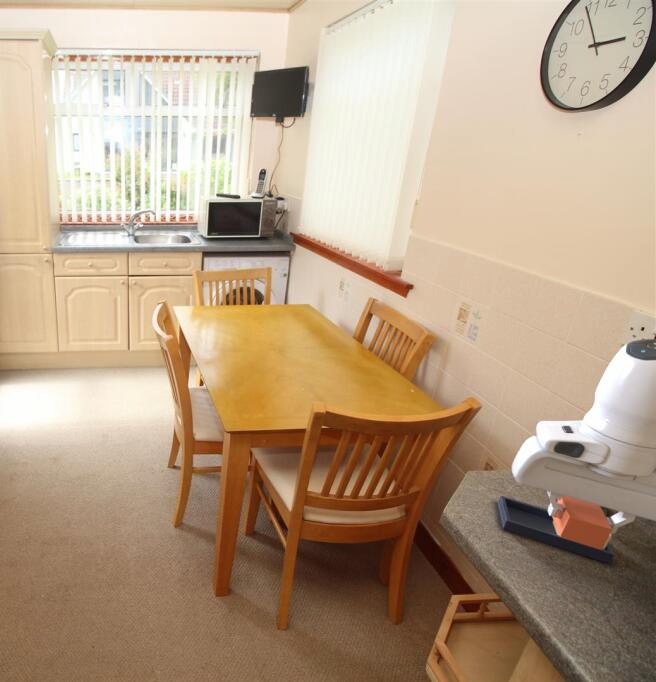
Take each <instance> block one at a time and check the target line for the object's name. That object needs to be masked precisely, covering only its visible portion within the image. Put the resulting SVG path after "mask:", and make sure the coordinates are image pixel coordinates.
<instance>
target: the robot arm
mask: <svg viewBox="0 0 656 682" xmlns="http://www.w3.org/2000/svg"><path fill="white" fill-rule="evenodd" d="M535 432H536V433H535V434H536V435H532V436H530V437H528V438H527V439H526V440H525V441H524V442H523V444H522V445H521V446H520V448H519V449H518V452H517V453H516V455H515V457H514V459H513V462H512V463H511V472H512V476H513V478H514V479H515V481H516V482H517V483H518V484H519V485H523V486H526V487H530V488H534V489H536V490H537V489H538V490H541V491H545V492H546V493H547V496H548V498H549V501H550V503H549V505H548V507H547V510H548V513H549V516H553V517H556V518H559V519H561V518H562V515H563V514H564V512H565V510H564V508H563V505H562V504H559V503H557V501H558V500H561V498H562V496H566V497H570V498H573V499H577V500H580V501H584V502H588V503H591V504H595V505H598V506H602V507H606V508H609V509H608V510H612V511H617V512H616V513H615V514H613V515H611V516H609V517H608V516H606V518H607V520H608V522H609V524H610V526H611V528H612V531H611V533H610V534H611V535H615V534H616V533H617V531H618V529H619V528H620V527H624V526H625V525H629V524H630V523H632V522H634V521H635V520H636V518H637V517H639V518H641V519H646V520H649V521H652V522H656V338H646V339H644V338H643V339H637V340H632V341H629V342H627V343H626V344H624V345H623V346H622V347H620V349H619V350H618V351H617V353H616V354H615V355H614V357H612V359H611V360H610V362H609V363H608V365H607V367H606V369H605V371H604V372H603V374H602V376H601V378H600V381H599V382H598V384H597V386H596V389H595V392H594V401H593V405H592V406H591V408H590V409H589V411H587V412H586V413H585V415H584V416H583V419H581V420H541V421H539V422H538V423H537V425H536V427H535ZM557 499H558V500H557Z"/></svg>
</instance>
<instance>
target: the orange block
mask: <svg viewBox="0 0 656 682" xmlns="http://www.w3.org/2000/svg"><path fill="white" fill-rule="evenodd" d="M556 502H557V503H559V504H562V505H563V508H564V510H565V512H564V514H563V515H562V518H561V519H559V518H556V517H553V516H552V517H553V520H554V522H555V525H556V528H557V530H558V533H559V536H560V537H561V538H565V539H568V540H571V541H574V542H578V543H581V544H584V545H587V546H591V547H594V548H597V549H600V550H602V548H603V546H604V544H605V542H606V540H607V539H608V537H609V535H610V533H611V531H612V528H611V526H610V524H609V522H608V520H607V518H606V517H607V516H606V515H604V513H603V511H602V509H601V507H600V506H598V505H595V504H591V503H588V502H584V501H580V500H577V499H573V498H570V497H566V496H562V498H561V500H556Z"/></svg>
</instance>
